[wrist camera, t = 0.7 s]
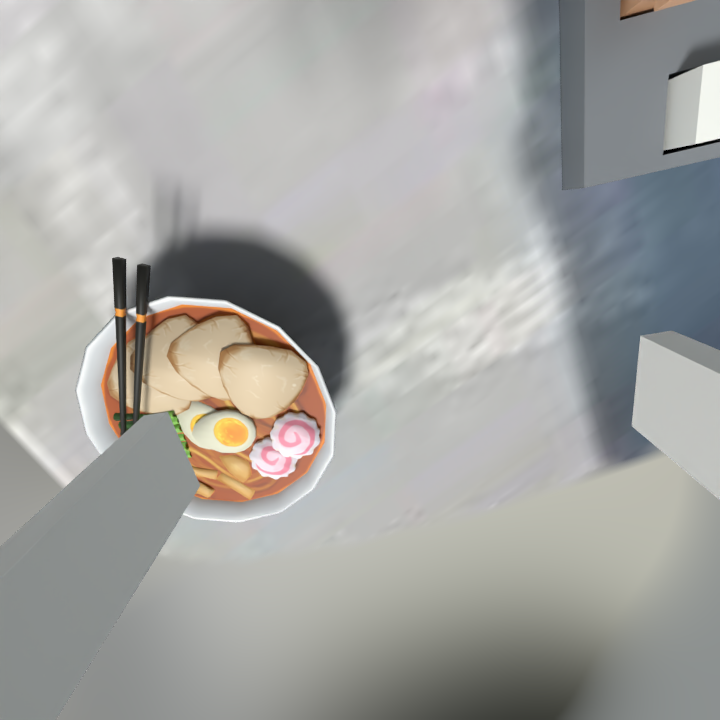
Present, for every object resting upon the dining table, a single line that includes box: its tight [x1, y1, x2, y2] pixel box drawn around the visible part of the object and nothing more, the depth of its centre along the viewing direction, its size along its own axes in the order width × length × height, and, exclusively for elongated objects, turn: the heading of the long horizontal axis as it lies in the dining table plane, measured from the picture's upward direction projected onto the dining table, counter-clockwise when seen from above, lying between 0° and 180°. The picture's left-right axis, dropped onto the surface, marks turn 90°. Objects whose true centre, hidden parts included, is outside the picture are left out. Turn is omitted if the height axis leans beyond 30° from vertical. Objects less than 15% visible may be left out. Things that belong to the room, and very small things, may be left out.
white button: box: [663, 61, 720, 151], centre depth 25 cm, size 4×4×4 cm
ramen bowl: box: [75, 257, 337, 522], centre depth 36 cm, size 25×23×8 cm
